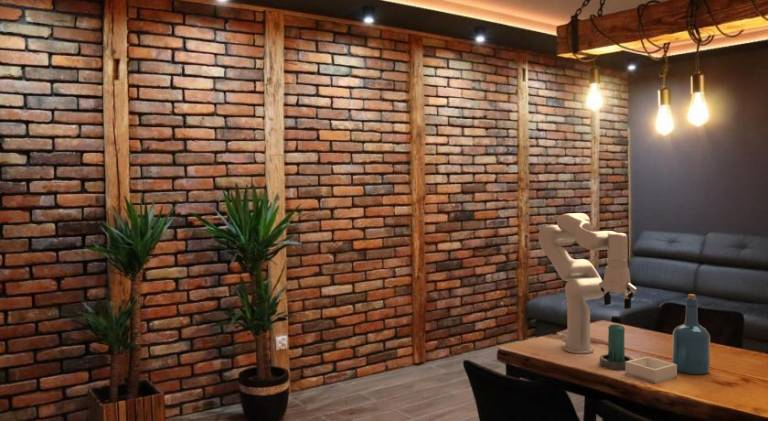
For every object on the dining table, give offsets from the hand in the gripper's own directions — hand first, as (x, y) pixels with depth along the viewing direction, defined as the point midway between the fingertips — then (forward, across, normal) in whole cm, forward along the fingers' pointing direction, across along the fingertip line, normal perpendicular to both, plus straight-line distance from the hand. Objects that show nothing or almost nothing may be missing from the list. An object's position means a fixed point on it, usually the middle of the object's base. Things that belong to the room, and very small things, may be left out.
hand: (617, 306), depth 258 cm
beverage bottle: (+24, -1, 0) cm, 24 cm away
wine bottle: (+25, +19, +19) cm, 37 cm away
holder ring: (+24, -1, 0) cm, 24 cm away
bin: (+24, +15, 0) cm, 29 cm away
